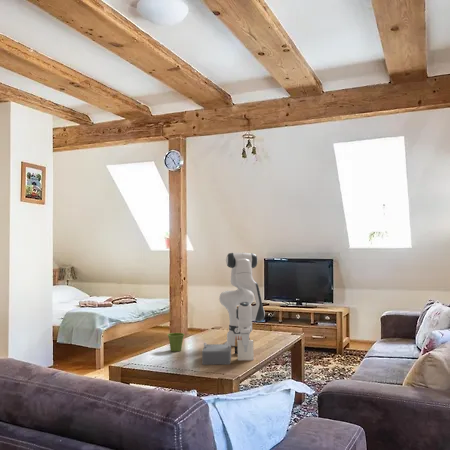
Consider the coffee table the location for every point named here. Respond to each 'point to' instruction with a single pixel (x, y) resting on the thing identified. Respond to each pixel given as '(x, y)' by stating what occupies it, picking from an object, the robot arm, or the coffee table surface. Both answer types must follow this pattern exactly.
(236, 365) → the coffee table surface
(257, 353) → the coffee table surface
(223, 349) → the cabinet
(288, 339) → the coffee table surface
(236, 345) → the ammunition clip
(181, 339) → the plant pot
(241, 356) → the door panel
